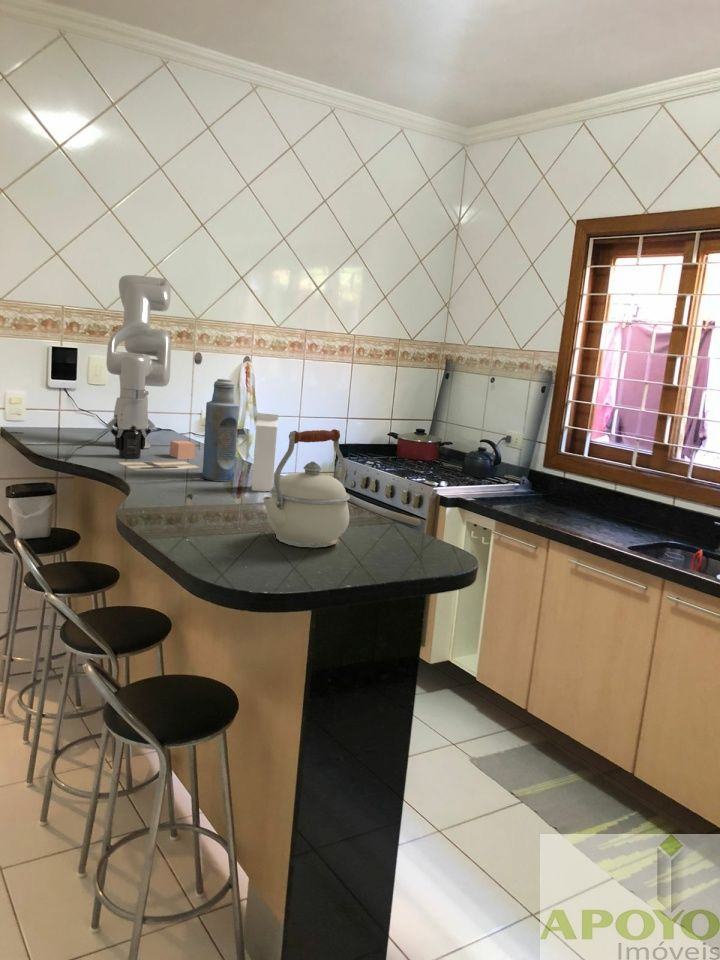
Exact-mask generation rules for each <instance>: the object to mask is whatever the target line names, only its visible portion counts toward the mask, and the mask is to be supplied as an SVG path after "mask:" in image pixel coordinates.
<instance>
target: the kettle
mask: <svg viewBox="0 0 720 960" xmlns="http://www.w3.org/2000/svg"><path fill="white" fill-rule="evenodd" d="M288 439H289V441H288V447H287V450H286V452H285V454H284V455H283V457H282V459H280V461H279V464H278V465H277V467H276V469H275V470H274V477H273V485H274V486H273V488H271V490H270V493H271V495H272V496H264V497H262V500H263V504H264V506H265V510H266V518H267V522H268V524H269V526H270V528H271V529H272V531H273V532H274V533H275V534H276V536H277V537H279V538H280V539H284V540H287V541H293V542H302V543H324V542H330V541H333V540H336V539H338V538H340V536H342V535H343V534H344V532H345V531H346V530H347V529H348V527H349V523H350V511H349V504H348V501H349V500H350V498H351V496H350V494H349V493H347V491H346V488H345V486H344V482H345V481H346V480H345V479H346V474H347V464H346V461H345V459H344V456H343V454H342V451H341V450H340V445H339V444H340V439H341V433H340V429H339V430H338V429H335V428H334V429H333V428H332V429H331V430H326V429H320V430H319V429H318V430H314V429H313V430H304V431H297V430H293V431H292V430H291V431H289V435H288ZM328 441H332V442H333V450H334V451H335V454H336V456H337V458H338V460H339V463H340V475H339V479H336V478H335V477H333V476H331V475H328V474H324V473H320V471H322V468H321V466H320V465H319V464H318V463H316V462H315V461H310V462H307V464H305V465H304V466H303V469H304V471H297V472H293V473H288V474H286V475H284V476H282V477H281V473H282V470H283V469H284V467H285V465H286V464H287V462H288V460H289V459H290V457H291V456H292V454H293V452H294V449H295V444H298V443H299V442H300V443H322V442H323V443H324V442H328Z"/></svg>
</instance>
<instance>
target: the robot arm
mask: <svg viewBox="0 0 720 960" xmlns="http://www.w3.org/2000/svg"><path fill="white" fill-rule="evenodd" d="M171 290H172V289H171V283H170V281H169V280H168V279H165V278H162V277H153V276H147V275H146V276H145V275H137V274H136V275H135V274H128V275H122V276H121V277H120V278H119V280H118V291H119V296H120V297H119V298H120V300H121V303H122V306H123V309H124V310H123V322H122V325H120V326H119V327H118V328H117V329H116V330H114V332H113V333H112V335H110V338H109V339H108V344H107V348H106V349H107V352H106V360H105V361H106V369H107V371H108V372H109V373H110V374H111V375H117V376H119V377H118V378H119V397H116V401H115V405H114V410H113V418H112V419H111V420H110V421H109V422H108V423H106V424H105V427H106V428H107V430H109V432H110V433H111V435H113V436H114V441H113V446H114V447H115V450H117V451H119V450H122V438H121V435H122V433H123V431H124V430H129V429H130V427H132V425H133V426H134V427H137V428H136V429H137V430H139V431H140V432H141V450H144V449H149V448H150V447H151V444H150V443H149V442H147V437H148V436H149V434H150V433H151V432H152V431H153V429H155V427H156V425H155V423H153V421H151V420H150V419H149V413H148V412H149V410H148V408H149V407H148V406H149V399H148V396H149V391H147V390H146V387H148V386H149V387H166V386H168V384H169V382H170V377H171V361H172V360H171V357H172V356H171V355H172V353H171V352H172V340H171V335H170V333H169V332H167V331H166V330H163V329H154V328H151V317H152V316H151V311H154V312H155V311H157V312H166V311H168V310H169V307H170V304H171V295H172V294H171V293H172V292H171ZM122 342H124V348H125V351H117V347H118V346H119V345H120V344H122ZM151 357H155V358H151ZM115 428H116V429H115Z"/></svg>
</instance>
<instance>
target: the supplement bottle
mask: <svg viewBox="0 0 720 960" xmlns="http://www.w3.org/2000/svg"><path fill="white" fill-rule="evenodd" d="M136 428H137V427H134V426H133V425H132V427H130V429H129V430H124V431H123V433H122V435H121V438H122V450H118V458H120V459H124V460H125V459H127V460H139V459H141V455H142V451H141V450H142V449H141V432H140V431H139V430H137V429H136Z"/></svg>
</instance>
